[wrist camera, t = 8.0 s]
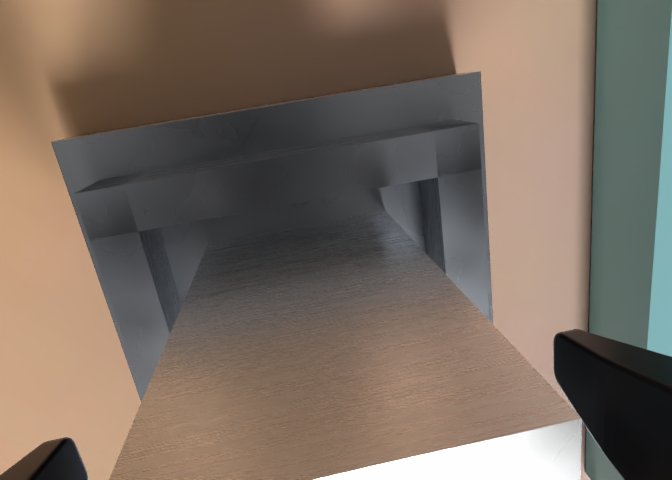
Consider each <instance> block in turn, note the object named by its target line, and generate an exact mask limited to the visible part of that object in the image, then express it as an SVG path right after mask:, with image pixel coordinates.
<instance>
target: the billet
mask: <svg viewBox="0 0 672 480" xmlns="http://www.w3.org/2000/svg"><path fill="white" fill-rule="evenodd" d="M581 431H582V418H581V417H580V416H579V415H578V414H577V413H576V412H575V411H574V410H573V409H572V408H571V407H570V406H569V405H568V404H567V402H566V401H565V400H564V399H563V398H562V397H561V396H560V395H559V394H558V393H557V392H556V391H555V390H554V389H553V388H552V387H551V386H550V384H549V383H548V382H547V381H546V380H545V379H544V378H543V377H542V376H541V375H540V374H539V373H538V372H537V371H536V370H535V369H534V367H533V366H532V365H531V364H530V363H529V362H528V361H527V360H526V359H525V358H524V357H523V356H522V355H521V354H520V353H519V352H518V351H517V349H516V348H515V347H514V346H513V345H512V344H511V343H510V342H509V341H508V340H507V339H506V338H505V337H504V336H503V335H502V334H501V332H500V331H499V330H498V329H497V328H496V327H495V326H494V325H493V324H492V323H491V322H490V321H489V320H488V319H487V318H486V317H485V316H484V314H483V313H482V312H481V311H480V310H479V309H478V308H477V307H476V306H475V305H474V304H473V303H472V302H471V301H470V300H469V299H468V297H467V296H466V295H465V294H464V293H463V292H462V291H461V290H460V289H459V288H458V287H457V286H456V285H455V284H454V283H453V282H452V281H451V279H450V278H449V277H448V276H447V275H446V274H445V273H444V272H443V271H442V270H441V269H440V268H439V267H438V266H437V265H436V264H435V262H434V261H433V260H432V259H431V258H430V257H429V256H428V255H427V254H426V253H425V252H424V251H423V250H422V249H421V248H420V247H419V246H418V244H417V243H416V242H415V241H414V240H413V239H412V238H411V237H410V236H409V235H408V234H407V233H406V232H405V231H404V230H403V229H402V227H401V226H400V225H399V224H398V223H397V222H396V221H395V220H394V219H393V218H392V217H391V216H390V215H389V214H388V213H387V212H386V211H385V210H381V211H376V212H371V213H365V214H360V215H355V216H349V217H344V218H338V219H333V220H328V221H322V222H317V223H312V224H306V225H301V226H296V227H290V228H285V229H279V230H274V231H269V232H263V233H258V234H253V235H247V236H242V237H237V238H231V239H226V240H220V241H215V242H210V243H208V245H207V247H206V249H205V252H204V254H203V257H202V259H201V261H200V264H199V266H198V268H197V271H196V273H195V276H194V278H193V280H192V283H191V285H190V288H189V290H188V292H187V295H186V297H185V300H184V302H183V304H182V307H181V309H180V311H179V314H178V316H177V319H176V321H175V323H174V326H173V328H172V331H171V333H170V335H169V338H168V340H167V343H166V345H165V347H164V350H163V352H162V354H161V357H160V359H159V362H158V364H157V366H156V369H155V371H154V374H153V376H152V378H151V381H150V383H149V385H148V388H147V390H146V393H145V395H144V397H143V400H142V402H141V405H140V407H139V409H138V412H137V414H136V417H135V419H134V421H133V424H132V426H131V428H130V431H129V433H128V436H127V438H126V440H125V443H124V445H123V448H122V450H121V452H120V455H119V457H118V460H117V462H116V464H115V467H114V469H113V471H112V474H111V476H110V479H109V480H581Z"/></svg>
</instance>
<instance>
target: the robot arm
mask: <svg viewBox="0 0 672 480" xmlns="http://www.w3.org/2000/svg"><path fill="white" fill-rule="evenodd" d="M554 374H555V378H556V380H557V382H558V384H559V386H560V387H561V389H562V390H563V392H564V393H565V395H566V396H567V398H568V400H569V401H570V403H571V404H572V406H573V407H574V409H575V410H576V412H577V414H578V415H579V416H580V417H581V418H582V421H583V423H584V424H585V426H586V427H587V429H588V431H589V432H590V434H591V435H592V437H593V438H594V440H595V441H596V443H597V444H598V446H599V447H600V449H601V450H602V452H603V453H604V454H605V456H606V457H607V458H608V460H609V461H610V462H611V463H612V465H613V466H614V467H615V469H616V470H617V471H618V472H619V474H620V475H621V476H622V477H623V479H624V480H672V357H671V356H668V355H664V354H661V353H657V352H654V351H651V350H647V349H644V348H640V347H637V346H633V345H630V344H627V343H623V342H620V341H616V340H613V339H610V338H606V337H603V336H599V335H596V334H592V333H589V332H586V331H582V330H578V329H574V330H569V331H565V332H560V333H557V334H556V335H555V337H554ZM0 480H88V475H87V471H86V468H85V466H84V464H83V461H82V459H81V457H80V454H79V452H78V449H77V447H76V445H75V443H74V441H73V440H72V439H71V438H68V437H65V438H60V439H56V440H51V441H47V442H44V443H42V444H41V445H40V446H38V447H37V448H36V449H34V450H33V451H32V452H30V453H29V454H28V455H26V456H25V457H24V458H22V459H21V460H20V461H19V462H17V463H16V464H15V465H13V466H12V467H11V468H9V469H8V470H7V471H5V472H4V473H3V474H1V475H0Z"/></svg>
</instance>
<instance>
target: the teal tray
mask: <svg viewBox="0 0 672 480" xmlns="http://www.w3.org/2000/svg"><path fill="white" fill-rule="evenodd" d="M589 333H592V334H596V335H599V336H603V337H606V338H610V339H613V340H616V341H620V342H623V343H627V344H630V345H633V346H637V347H640V348H644V349H647V350H651V351H654V352H657V353H661V354H664V355H668V356H671V357H672V0H598V10H597V48H596V86H595V124H594V162H593V200H592V239H591V277H590V315H589ZM585 472H586V474H587V475H588V476H589V477H590V479H591V480H624V479H623V477H622V476H621V475H620V474H619V472H618V471H617V470H616V469H615V467H614V466H613V465H612V463H611V462H610V461H609V460H608V458H607V457H606V456H605V454H604V453H603V452H602V450H601V449H600V447H599V446H598V444H597V443H596V441H595V440H594V438H593V437H592V435H591V434H590V432H589V431H588V429H587V430H586V468H585Z"/></svg>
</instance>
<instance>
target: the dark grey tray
mask: <svg viewBox="0 0 672 480" xmlns="http://www.w3.org/2000/svg"><path fill="white" fill-rule="evenodd" d="M51 143H52V146H53V149H54V152H55V155H56V158H57V160H58V163H59V166H60V169H61V172H62V175H63V178H64V181H65V184H66V186H67V189H68V192H69V195H70V198H71V201H72V204H73V207H74V209H75V212H76V215H77V218H78V221H79V224H80V227H81V230H82V233H83V235H84V238H85V241H86V244H87V247H88V250H89V253H90V256H91V258H92V261H93V264H94V267H95V270H96V273H97V276H98V279H99V282H100V284H101V287H102V290H103V293H104V296H105V299H106V302H107V305H108V307H109V310H110V313H111V316H112V319H113V322H114V325H115V328H116V331H117V333H118V336H119V339H120V342H121V345H122V348H123V351H124V354H125V356H126V359H127V362H128V365H129V368H130V371H131V374H132V377H133V380H134V382H135V385H136V388H137V391H138V394H139V397H140V400H141V402H142V400H143V397H144V395H145V393H146V390H147V388H148V385H149V383H150V381H151V378H152V376H153V374H154V371H155V369H156V366H157V364H158V362H159V359H160V357H161V354H162V352H163V350H164V347H165V345H166V343H167V340H168V338H169V335H170V333H171V331H172V328H173V326H174V323H175V321H176V319H177V316H178V314H179V311H180V309H181V307H182V304H183V302H184V300H185V297H186V295H187V292H188V290H189V288H190V285H191V283H192V280H193V278H194V276H195V273H196V271H197V268H198V266H199V264H200V261H201V259H202V257H203V254H204V252H205V249H206V247H207V245H208V243H210V242H215V241H220V240H226V239H231V238H237V237H242V236H247V235H253V234H258V233H263V232H269V231H274V230H279V229H285V228H290V227H296V226H301V225H306V224H312V223H317V222H322V221H328V220H333V219H338V218H344V217H349V216H355V215H360V214H365V213H371V212H376V211H381V210H385V211H386V212H387V213H388V214H389V215H390V216H391V217H392V218H393V219H394V220H395V221H396V222H397V223H398V224H399V225H400V226H401V227H402V229H403V230H404V231H405V232H406V233H407V234H408V235H409V236H410V237H411V238H412V239H413V240H414V241H415V242H416V243H417V244H418V246H419V247H420V248H421V249H422V250H423V251H424V252H425V253H426V254H427V255H428V256H429V257H430V258H431V259H432V260H433V261H434V262H435V264H436V265H437V266H438V267H439V268H440V269H441V270H442V271H443V272H444V273H445V274H446V275H447V276H448V277H449V278H450V279H451V281H452V282H453V283H454V284H455V285H456V286H457V287H458V288H459V289H460V290H461V291H462V292H463V293H464V294H465V295H466V296H467V297H468V299H469V300H470V301H471V302H472V303H473V304H474V305H475V306H476V307H477V308H478V309H479V310H480V311H481V312H482V313H483V314H484V316H485V317H486V318H487V319H488V320H489V321H490V322H491V323H492V324H493V313H492V292H491V272H490V252H489V232H488V211H487V191H486V171H485V151H484V130H483V110H482V90H481V72H470V73H459V74H452V75H446V76H440V77H434V78H427V79H421V80H415V81H409V82H403V83H397V84H391V85H385V86H379V87H373V88H367V89H361V90H354V91H348V92H342V93H336V94H330V95H324V96H318V97H312V98H306V99H300V100H294V101H287V102H281V103H275V104H269V105H263V106H257V107H251V108H245V109H239V110H233V111H227V112H221V113H214V114H208V115H202V116H196V117H190V118H184V119H178V120H172V121H166V122H160V123H154V124H147V125H141V126H135V127H129V128H123V129H117V130H111V131H105V132H99V133H93V134H87V135H81V136H75V137H71V138H67V139H63V140H58V141H54V142H51Z"/></svg>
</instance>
